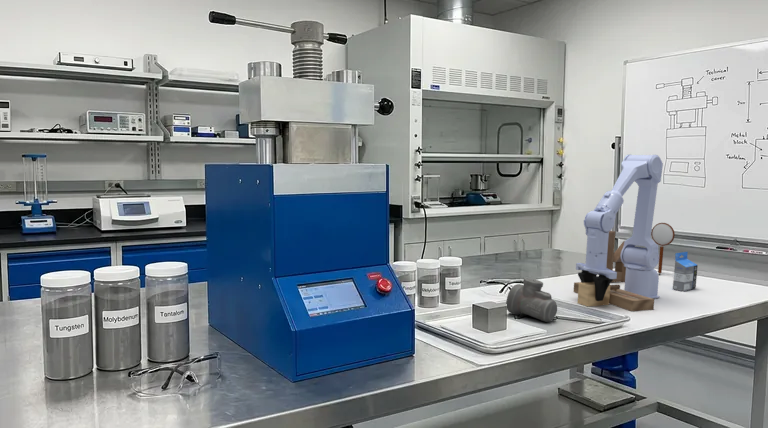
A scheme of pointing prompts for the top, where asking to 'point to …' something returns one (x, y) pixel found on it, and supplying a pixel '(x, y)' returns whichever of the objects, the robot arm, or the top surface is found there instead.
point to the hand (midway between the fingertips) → (593, 298)
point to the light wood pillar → (593, 294)
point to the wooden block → (615, 258)
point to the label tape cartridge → (684, 273)
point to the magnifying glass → (662, 239)
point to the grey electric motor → (531, 300)
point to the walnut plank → (627, 300)
